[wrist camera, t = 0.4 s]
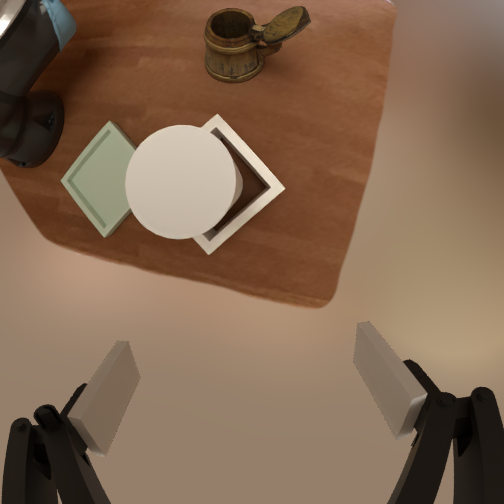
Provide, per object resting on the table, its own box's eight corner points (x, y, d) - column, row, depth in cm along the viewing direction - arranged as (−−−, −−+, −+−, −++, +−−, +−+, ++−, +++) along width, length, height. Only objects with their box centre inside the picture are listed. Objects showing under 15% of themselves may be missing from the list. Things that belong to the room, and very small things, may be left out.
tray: (68, 180, 40) (60, 180, 37) (116, 123, 38) (109, 120, 36) (111, 234, 42) (104, 237, 40) (164, 178, 40) (159, 177, 38)
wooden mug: (277, 102, 38) (296, 49, 20) (195, 74, 37) (166, 14, 19) (298, 58, 36) (324, -5, 19) (219, 32, 35) (206, -36, 17)
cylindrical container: (211, 217, 42) (163, 260, 18) (186, 177, 40) (107, 169, 16) (252, 191, 41) (258, 198, 17) (226, 151, 40) (196, 103, 15)
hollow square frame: (162, 182, 40) (143, 182, 33) (223, 126, 39) (217, 113, 31) (215, 242, 43) (208, 255, 35) (278, 188, 41) (285, 188, 33)
